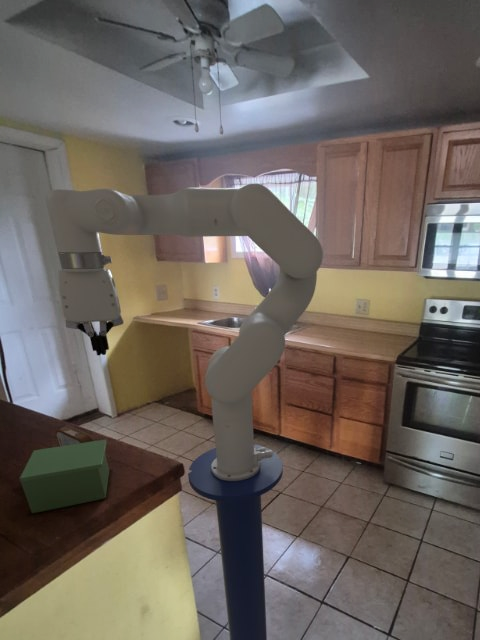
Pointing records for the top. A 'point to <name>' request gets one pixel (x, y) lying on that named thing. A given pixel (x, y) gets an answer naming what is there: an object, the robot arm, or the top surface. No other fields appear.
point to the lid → (64, 460)
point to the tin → (71, 436)
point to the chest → (67, 489)
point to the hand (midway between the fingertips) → (101, 353)
